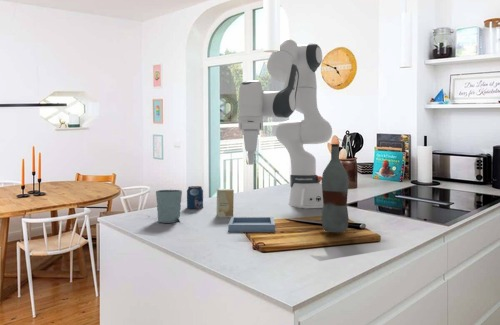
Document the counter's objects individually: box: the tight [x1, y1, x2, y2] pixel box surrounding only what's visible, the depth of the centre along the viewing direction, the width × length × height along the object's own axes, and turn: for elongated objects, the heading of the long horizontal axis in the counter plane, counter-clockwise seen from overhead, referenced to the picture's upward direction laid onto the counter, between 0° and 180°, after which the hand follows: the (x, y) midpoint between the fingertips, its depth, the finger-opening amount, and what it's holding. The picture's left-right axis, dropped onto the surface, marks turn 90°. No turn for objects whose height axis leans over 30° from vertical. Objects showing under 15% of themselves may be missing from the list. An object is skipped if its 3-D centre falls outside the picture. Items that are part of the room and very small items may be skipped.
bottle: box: [321, 143, 350, 233], centre depth 150 cm, size 9×9×30 cm
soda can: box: [186, 185, 204, 211], centre depth 187 cm, size 7×7×12 cm
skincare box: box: [216, 188, 235, 219], centre depth 174 cm, size 6×4×12 cm
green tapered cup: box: [155, 189, 183, 224], centre depth 172 cm, size 10×10×12 cm
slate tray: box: [227, 216, 276, 233], centre depth 156 cm, size 16×16×2 cm
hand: (251, 163), depth 156 cm, fingers open, 8 cm apart
